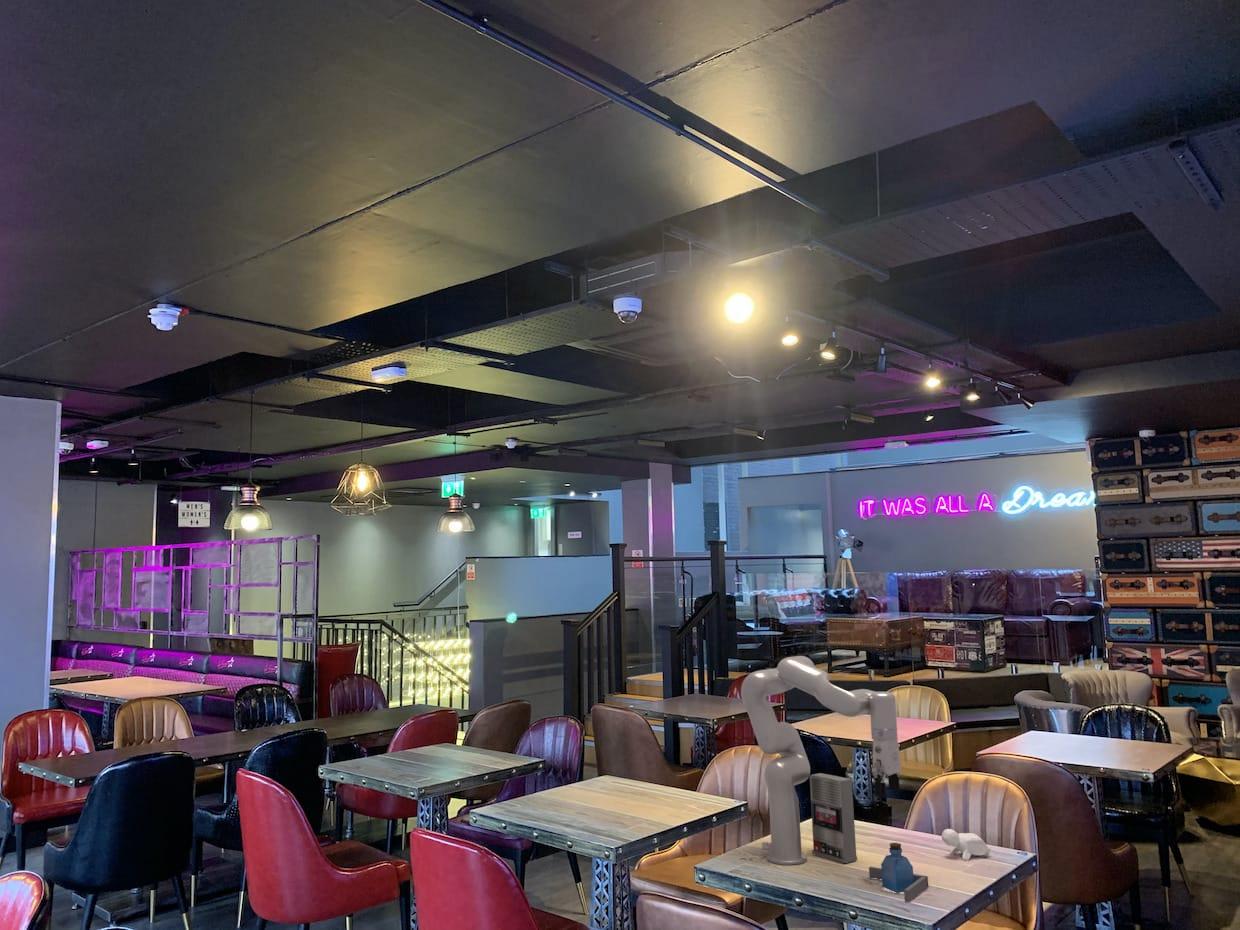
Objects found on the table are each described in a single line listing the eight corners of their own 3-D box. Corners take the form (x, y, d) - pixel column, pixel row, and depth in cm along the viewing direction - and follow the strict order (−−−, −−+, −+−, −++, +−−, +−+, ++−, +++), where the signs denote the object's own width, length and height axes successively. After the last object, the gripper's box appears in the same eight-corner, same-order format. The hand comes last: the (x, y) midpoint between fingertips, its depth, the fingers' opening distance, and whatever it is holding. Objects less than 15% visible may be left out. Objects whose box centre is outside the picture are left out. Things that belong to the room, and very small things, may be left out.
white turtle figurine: (972, 861, 285) (932, 847, 283) (979, 835, 287) (939, 820, 285) (988, 869, 277) (947, 854, 275) (995, 841, 278) (954, 827, 276)
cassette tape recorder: (811, 854, 287) (807, 775, 291) (824, 851, 290) (820, 773, 294) (844, 864, 276) (839, 781, 279) (857, 861, 279) (852, 779, 283)
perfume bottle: (914, 889, 250) (911, 845, 251) (897, 893, 247) (893, 848, 249) (900, 883, 255) (896, 840, 257) (882, 886, 253) (879, 843, 255)
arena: (850, 891, 251) (849, 879, 251) (871, 877, 263) (870, 866, 263) (909, 902, 240) (908, 890, 241) (928, 887, 252) (927, 876, 252)
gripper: (884, 739, 255) (887, 800, 253) (907, 731, 268) (911, 789, 266) (860, 736, 260) (863, 797, 257) (884, 729, 273) (887, 786, 271)
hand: (887, 793), depth 262 cm, fingers open, 9 cm apart
